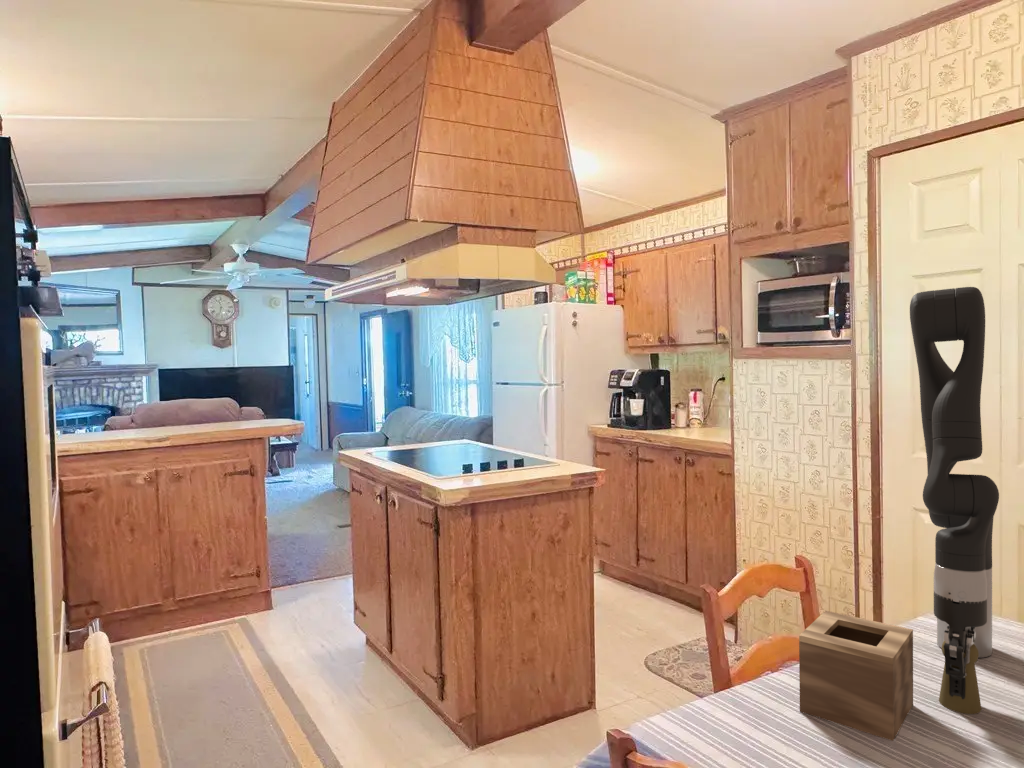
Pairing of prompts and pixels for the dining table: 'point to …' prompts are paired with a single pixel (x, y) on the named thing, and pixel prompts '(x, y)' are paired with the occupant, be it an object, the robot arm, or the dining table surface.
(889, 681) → the walnut box
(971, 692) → the olive pawn
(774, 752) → the dining table surface
